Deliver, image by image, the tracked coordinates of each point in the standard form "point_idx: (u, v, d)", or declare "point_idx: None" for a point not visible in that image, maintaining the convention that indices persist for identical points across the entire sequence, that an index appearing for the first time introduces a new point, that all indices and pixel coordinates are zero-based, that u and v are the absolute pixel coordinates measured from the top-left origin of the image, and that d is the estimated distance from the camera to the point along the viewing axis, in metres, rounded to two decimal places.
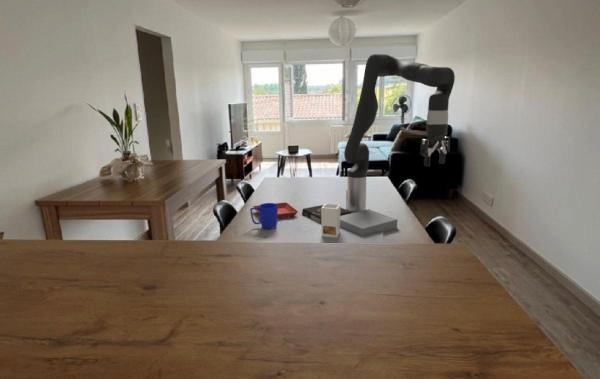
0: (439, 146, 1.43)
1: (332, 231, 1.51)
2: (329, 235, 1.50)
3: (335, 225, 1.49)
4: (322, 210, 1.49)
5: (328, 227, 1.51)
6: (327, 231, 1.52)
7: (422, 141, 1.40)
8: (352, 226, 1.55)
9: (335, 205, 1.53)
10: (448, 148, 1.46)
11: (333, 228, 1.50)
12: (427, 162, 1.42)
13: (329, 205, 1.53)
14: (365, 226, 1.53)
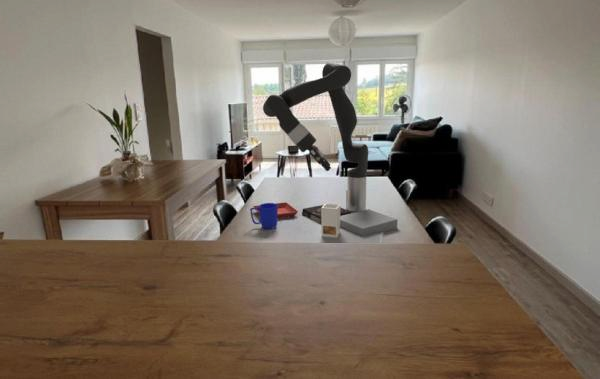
0: None
1: (332, 231, 1.51)
2: (329, 235, 1.50)
3: (335, 225, 1.49)
4: (322, 210, 1.49)
5: (328, 227, 1.51)
6: (327, 231, 1.52)
7: None
8: (352, 226, 1.55)
9: (335, 205, 1.53)
10: None
11: (333, 228, 1.50)
12: None
13: (329, 205, 1.54)
14: (365, 226, 1.53)
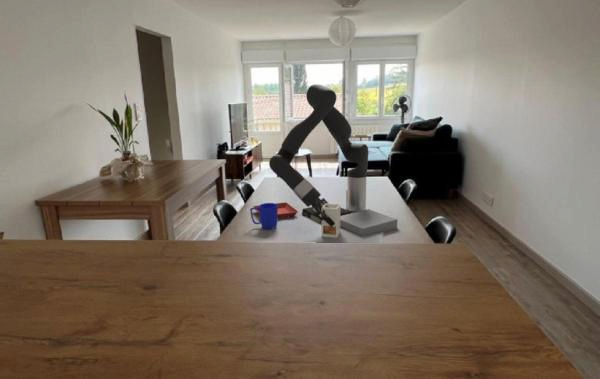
0: None
1: (332, 230, 1.51)
2: (329, 235, 1.50)
3: (335, 225, 1.49)
4: (322, 210, 1.49)
5: (328, 227, 1.51)
6: (327, 231, 1.52)
7: None
8: (352, 226, 1.55)
9: (335, 205, 1.53)
10: None
11: (333, 228, 1.50)
12: None
13: (329, 205, 1.53)
14: (365, 226, 1.53)
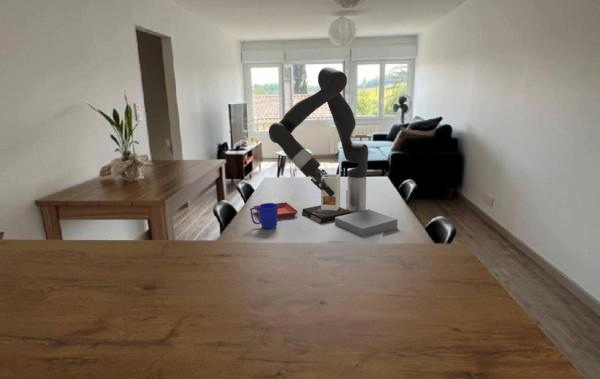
0: None
1: (332, 201, 1.48)
2: (329, 205, 1.47)
3: (335, 195, 1.46)
4: None
5: (328, 197, 1.48)
6: (327, 202, 1.49)
7: None
8: (352, 226, 1.55)
9: (335, 175, 1.50)
10: None
11: (333, 198, 1.48)
12: None
13: (329, 175, 1.50)
14: (365, 226, 1.53)
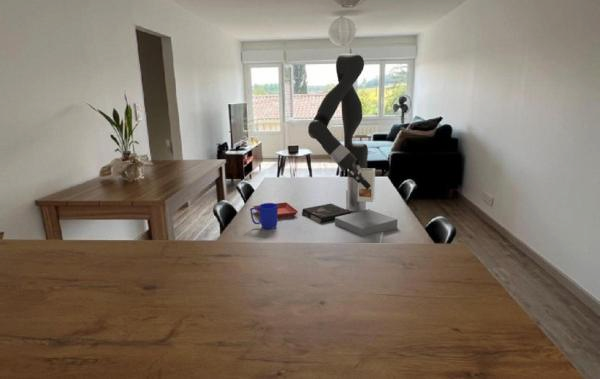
0: None
1: (367, 193, 1.58)
2: (365, 197, 1.57)
3: (371, 187, 1.55)
4: (359, 173, 1.56)
5: (364, 190, 1.58)
6: (363, 194, 1.58)
7: None
8: (352, 226, 1.55)
9: (370, 169, 1.60)
10: None
11: (369, 191, 1.57)
12: None
13: (364, 169, 1.60)
14: (365, 226, 1.53)
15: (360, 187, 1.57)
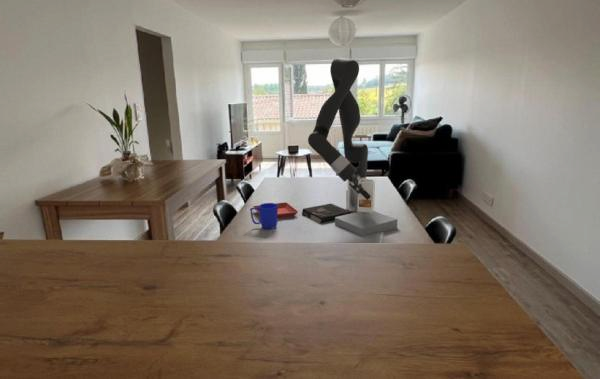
0: None
1: (367, 204, 1.59)
2: (365, 208, 1.58)
3: (371, 198, 1.56)
4: None
5: (364, 200, 1.59)
6: (363, 204, 1.59)
7: None
8: (352, 226, 1.55)
9: (370, 180, 1.61)
10: None
11: (369, 201, 1.58)
12: None
13: (364, 180, 1.61)
14: (365, 226, 1.53)
15: (360, 198, 1.58)
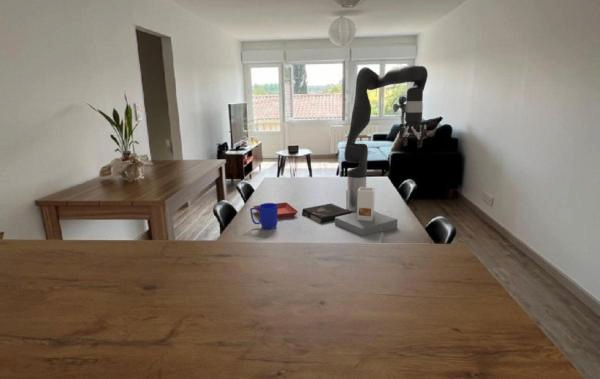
0: (412, 131, 1.73)
1: (367, 212, 1.60)
2: (364, 216, 1.59)
3: (370, 207, 1.58)
4: (358, 193, 1.58)
5: (363, 209, 1.60)
6: (362, 213, 1.61)
7: None
8: (352, 226, 1.55)
9: (369, 188, 1.62)
10: (422, 135, 1.69)
11: (368, 210, 1.59)
12: (403, 142, 1.79)
13: (364, 188, 1.63)
14: (365, 226, 1.53)
15: (360, 206, 1.59)
